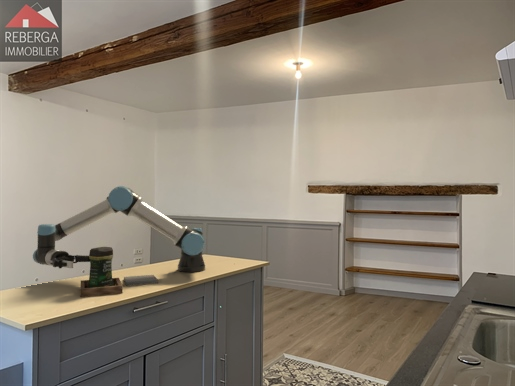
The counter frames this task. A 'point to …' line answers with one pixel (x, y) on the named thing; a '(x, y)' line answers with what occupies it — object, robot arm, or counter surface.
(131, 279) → the grey board
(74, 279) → the counter surface
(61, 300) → the counter surface
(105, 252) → the coffee jar
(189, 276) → the counter surface
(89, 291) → the walnut frame
